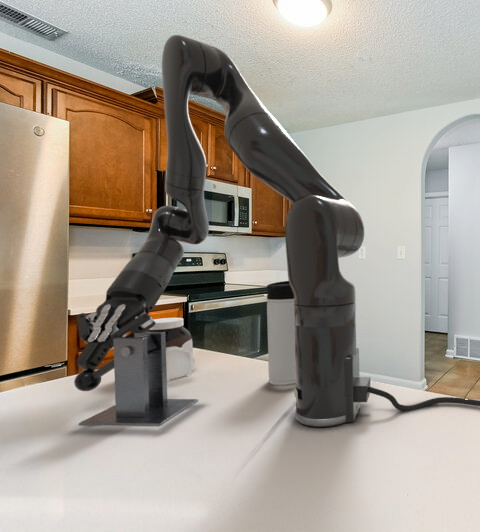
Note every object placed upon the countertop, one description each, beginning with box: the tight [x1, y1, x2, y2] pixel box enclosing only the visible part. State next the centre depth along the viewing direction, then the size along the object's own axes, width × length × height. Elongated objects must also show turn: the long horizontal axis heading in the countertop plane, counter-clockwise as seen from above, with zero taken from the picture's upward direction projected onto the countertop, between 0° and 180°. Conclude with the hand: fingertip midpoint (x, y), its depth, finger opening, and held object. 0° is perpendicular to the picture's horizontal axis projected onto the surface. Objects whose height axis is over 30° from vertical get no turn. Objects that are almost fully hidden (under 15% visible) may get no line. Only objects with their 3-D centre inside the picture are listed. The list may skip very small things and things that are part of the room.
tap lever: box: [73, 334, 157, 392], centre depth 57 cm, size 13×3×3 cm
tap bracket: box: [78, 332, 199, 427], centre depth 57 cm, size 12×9×13 cm
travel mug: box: [266, 280, 296, 387], centre depth 71 cm, size 6×7×20 cm
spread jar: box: [146, 317, 196, 383], centre depth 76 cm, size 12×11×12 cm
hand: (85, 367), depth 57 cm, fingers closed
